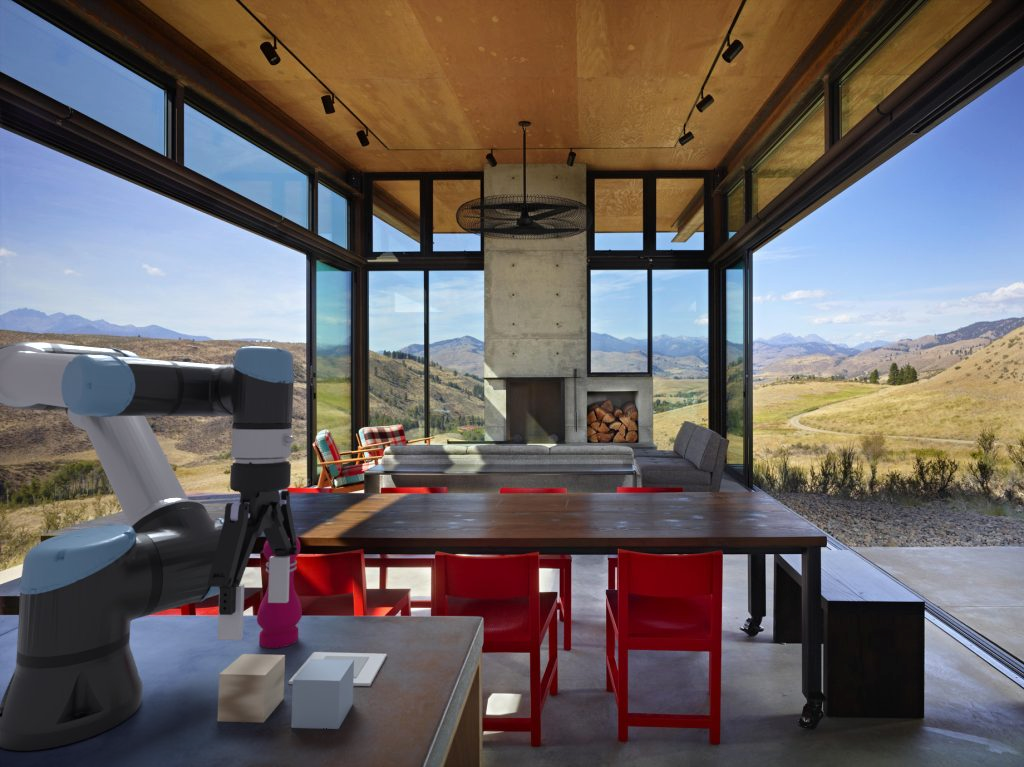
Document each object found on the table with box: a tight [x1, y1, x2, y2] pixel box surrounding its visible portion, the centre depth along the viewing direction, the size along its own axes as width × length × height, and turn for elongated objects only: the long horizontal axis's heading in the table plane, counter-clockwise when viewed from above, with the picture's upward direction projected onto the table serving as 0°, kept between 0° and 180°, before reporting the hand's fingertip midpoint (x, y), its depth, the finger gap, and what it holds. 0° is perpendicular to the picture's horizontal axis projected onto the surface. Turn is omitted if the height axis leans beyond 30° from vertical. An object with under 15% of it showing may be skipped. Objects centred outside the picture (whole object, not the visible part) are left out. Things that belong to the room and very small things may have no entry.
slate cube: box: [290, 659, 354, 730], centre depth 74 cm, size 6×6×6 cm
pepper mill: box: [256, 536, 303, 649], centre depth 98 cm, size 7×7×20 cm
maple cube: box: [216, 653, 286, 723], centre depth 75 cm, size 6×6×6 cm
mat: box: [288, 651, 388, 687], centre depth 87 cm, size 12×10×1 cm
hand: (256, 619), depth 75 cm, fingers open, 13 cm apart
